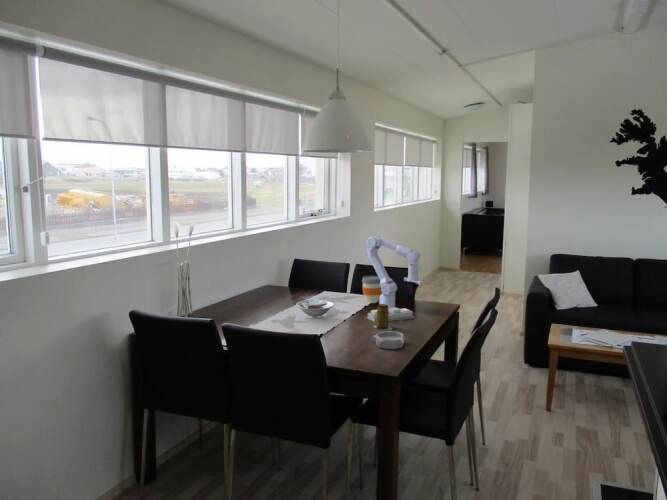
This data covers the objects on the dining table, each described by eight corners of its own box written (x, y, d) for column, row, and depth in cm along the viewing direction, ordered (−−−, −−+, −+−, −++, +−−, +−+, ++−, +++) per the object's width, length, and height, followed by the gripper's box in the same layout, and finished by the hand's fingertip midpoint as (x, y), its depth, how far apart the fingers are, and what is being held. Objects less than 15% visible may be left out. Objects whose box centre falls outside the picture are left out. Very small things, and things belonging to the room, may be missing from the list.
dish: (402, 340, 261) (402, 330, 260) (407, 350, 247) (407, 339, 246) (372, 340, 260) (372, 330, 260) (375, 350, 247) (375, 339, 246)
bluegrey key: (389, 313, 303) (389, 308, 302) (396, 312, 305) (396, 307, 304) (393, 315, 299) (393, 310, 298) (400, 314, 301) (400, 309, 300)
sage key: (370, 315, 297) (370, 310, 297) (377, 314, 299) (377, 309, 299) (374, 317, 293) (375, 312, 293) (381, 316, 295) (382, 311, 295)
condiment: (384, 325, 287) (385, 302, 285) (393, 329, 279) (394, 306, 277) (372, 326, 283) (373, 304, 282) (381, 331, 276) (381, 307, 274)
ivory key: (398, 314, 306) (398, 309, 305) (404, 313, 307) (405, 308, 307) (402, 316, 302) (403, 310, 301) (409, 315, 304) (409, 310, 303)
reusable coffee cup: (385, 300, 340) (386, 277, 338) (375, 304, 329) (376, 280, 327) (367, 298, 346) (368, 274, 344) (357, 301, 336) (358, 277, 334)
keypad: (364, 317, 300) (364, 312, 300) (403, 312, 312) (404, 307, 311) (375, 323, 290) (375, 317, 289) (416, 317, 301) (416, 312, 301)
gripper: (399, 270, 312) (399, 293, 314) (415, 274, 300) (415, 298, 302) (409, 269, 316) (409, 292, 318) (425, 273, 303) (425, 297, 305)
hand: (412, 295), depth 310 cm, fingers closed
